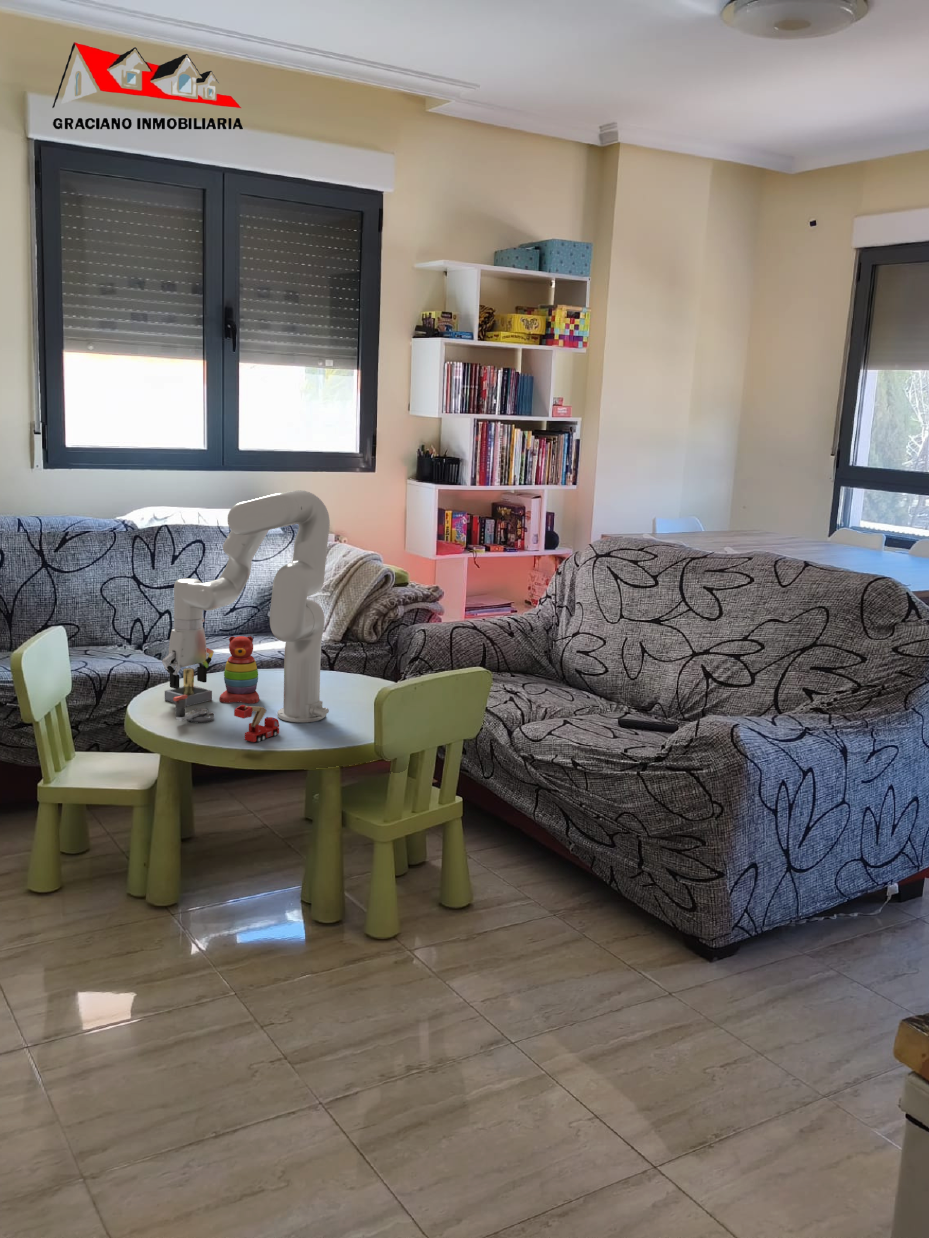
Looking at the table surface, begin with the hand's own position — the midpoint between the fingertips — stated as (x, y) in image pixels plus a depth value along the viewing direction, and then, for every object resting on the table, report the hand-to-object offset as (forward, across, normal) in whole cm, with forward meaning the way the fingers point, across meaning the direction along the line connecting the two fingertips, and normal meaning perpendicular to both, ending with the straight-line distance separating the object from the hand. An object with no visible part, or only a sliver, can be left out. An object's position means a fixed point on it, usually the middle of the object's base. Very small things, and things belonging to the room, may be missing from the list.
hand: (188, 684), depth 301 cm
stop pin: (+4, 0, 0) cm, 4 cm away
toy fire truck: (+5, +12, +39) cm, 41 cm away
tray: (+4, 0, 0) cm, 4 cm away
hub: (+4, +10, +16) cm, 19 cm away
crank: (+3, +14, +16) cm, 21 cm away
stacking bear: (+5, -11, +9) cm, 15 cm away
